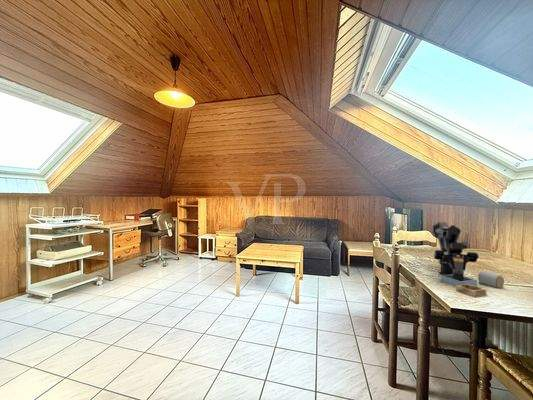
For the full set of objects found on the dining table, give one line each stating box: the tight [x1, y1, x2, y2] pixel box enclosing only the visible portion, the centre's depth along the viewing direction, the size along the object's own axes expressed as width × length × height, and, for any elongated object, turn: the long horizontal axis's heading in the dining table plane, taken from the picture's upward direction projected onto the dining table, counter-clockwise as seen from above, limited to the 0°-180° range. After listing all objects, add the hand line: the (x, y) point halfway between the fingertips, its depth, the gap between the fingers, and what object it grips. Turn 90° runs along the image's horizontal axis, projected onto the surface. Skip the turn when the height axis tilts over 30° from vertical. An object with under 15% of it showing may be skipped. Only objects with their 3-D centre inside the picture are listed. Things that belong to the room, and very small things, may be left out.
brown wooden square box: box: [454, 284, 488, 298], centre depth 111 cm, size 9×9×4 cm
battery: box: [453, 255, 465, 281], centre depth 123 cm, size 4×4×14 cm
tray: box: [440, 274, 478, 287], centre depth 123 cm, size 11×11×4 cm
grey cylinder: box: [477, 270, 505, 289], centre depth 121 cm, size 11×8×8 cm
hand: (459, 269), depth 122 cm, fingers closed on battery, 4 cm apart
